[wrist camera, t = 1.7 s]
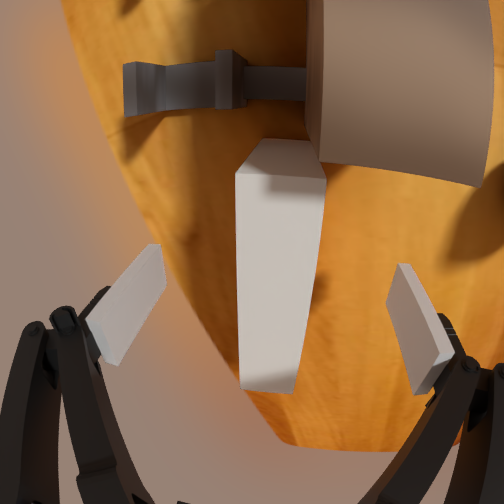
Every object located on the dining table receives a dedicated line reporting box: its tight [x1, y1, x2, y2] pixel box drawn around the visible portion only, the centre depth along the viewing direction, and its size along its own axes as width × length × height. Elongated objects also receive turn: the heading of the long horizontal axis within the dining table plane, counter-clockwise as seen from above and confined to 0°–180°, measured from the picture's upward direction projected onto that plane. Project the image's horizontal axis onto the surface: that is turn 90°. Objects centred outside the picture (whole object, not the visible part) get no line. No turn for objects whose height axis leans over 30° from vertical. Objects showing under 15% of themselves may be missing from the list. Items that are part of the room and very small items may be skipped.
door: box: [235, 138, 327, 394], centre depth 16 cm, size 12×4×9 cm, turn 179°
